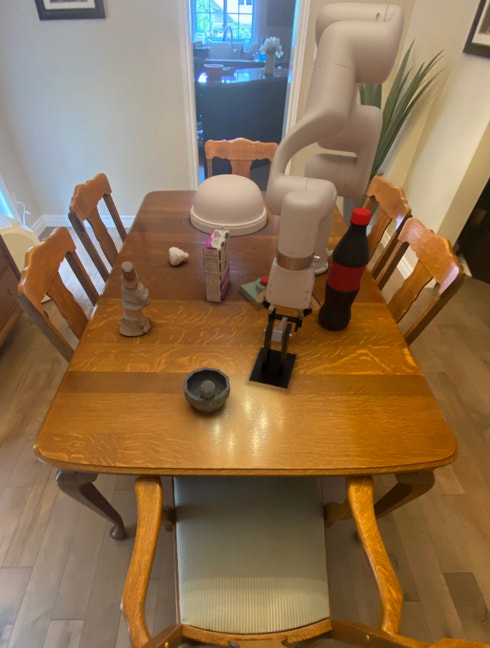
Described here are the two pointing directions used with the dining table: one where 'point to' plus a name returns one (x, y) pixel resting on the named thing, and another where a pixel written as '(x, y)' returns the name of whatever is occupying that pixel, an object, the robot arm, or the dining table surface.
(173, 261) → the garlic bulb
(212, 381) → the mortar and pestle
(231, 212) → the dome cover
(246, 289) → the control block
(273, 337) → the lever
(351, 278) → the cola bottle
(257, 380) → the bracket
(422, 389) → the dining table surface
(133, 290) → the figurine
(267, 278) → the button
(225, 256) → the candy bar box
